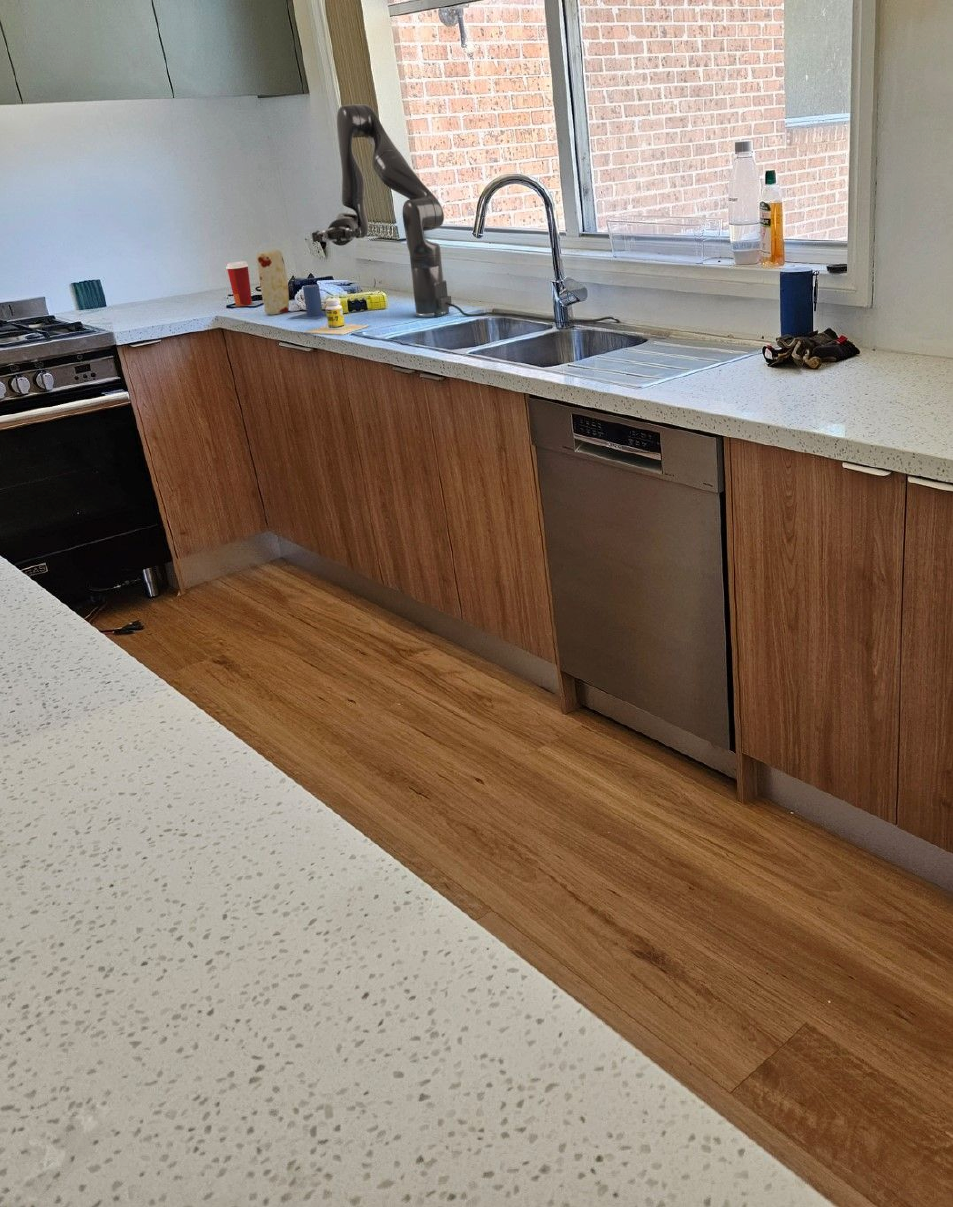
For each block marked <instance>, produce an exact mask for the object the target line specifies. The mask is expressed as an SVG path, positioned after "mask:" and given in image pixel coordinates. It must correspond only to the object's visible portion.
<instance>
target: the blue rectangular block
mask: <svg viewBox="0 0 953 1207" xmlns="http://www.w3.org/2000/svg"><path fill="white" fill-rule="evenodd" d="M302 291H303V299H304V305H305V311H306V313H307V316H308V317H315V316H321V315H323V311H324V310H323V305H322V299H321V291H320V285H319V284H307V285H303V286H302Z"/></svg>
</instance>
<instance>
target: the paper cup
mask: <svg viewBox="0 0 953 1207" xmlns="http://www.w3.org/2000/svg"><path fill="white" fill-rule="evenodd" d="M225 269H226V271H227V273H228V275H227V276H228V278H229V283H230V287H231V291H232V295H233V296H232V297H233V300H234V303H235V306H236V307H244V306H245V307H246V306H250V305H252V304H253V299H252V290H251V282H250V273H249V272H250V271H249V264H248V262H247V261H244V260H241V261H233V262H228V263H227V264H226V267H225Z"/></svg>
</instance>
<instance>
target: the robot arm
mask: <svg viewBox="0 0 953 1207" xmlns="http://www.w3.org/2000/svg"><path fill="white" fill-rule="evenodd" d="M336 131H337V140H338V150H339V157H340V166H341V204H342V205H343V206H344V207H346V208H348V209H351V210H352V211H354V212H355V213H348V212H341V213H338V215H337V216H336V218H335V219H334V220H333V221H332V222H331V223H330V224H329V225H328V228H327V229H326V228H325V229H322V231H320V230H316V231H314V232H312V233H311V237H312V238H311V239H312V242H313V243H316V242H317V243H322V242H324V243H330V242H331V243H333V244H334V245H337V246H338V247H339V246H340V247H343V246H346V245H347V244H349V243H350V242H352V241H353V240H354V239H363V238H365V237H366V236H367V235H368V233H369V227H370V226H369V220H368V217H367V213H366V207H365V178H364V173H363V171H362V169H361V167H360V165H359V163H358V160H357V158H356V157H355V153H354V151H353V139H357V138H365V139H367V140H368V142H370V144H371V145H372V152H371V164H372V168H373V170H374V172H375V173H376V175H377V177H378V178H379V179H380V180H381V183H383V184H384V185H385V186H386V187H387V188H389V189H390V190H392V191H395V193H398V194H399V195H401V196H404V197H405V198H406V199H407V200H405V202H404V203H403V205H402V211H401V212H402V213H401V214H402V224H403V229H404V233H405V242H406V246H407V250H408V252H409V254H408V255H409V262H410V270H411V271H410V273H411V280H412V288H413V289H412V290H413V298H414V299H413V301H414V306H415V307H414V309H415V317H417V318H433V317H434V318H438V317H442V316H445V315H447V314H450V307H453V308H454V309H456V310H458V311H459V312H460V314H461V315H462V316H465V317H481V316H488V315H492V316H494V315H495V316H496V315H497V316H508V317H509V316H510V317H520V318H524V319H525V318H526V319H533V320H540V321H541V320H542V321H549V322H550V321H551V322H557V321H556V319H557V318H556V319H555V318H554V317H545V316H536V315H529V314H521V313H513V312H499V311H487V312H480V313H467V312H465V311H464V310H462V309H461V307H459V306H458V305H457V304H454V303H452V296H451V295H448V286H447V285H448V284H447V280H444V272H443V263H442V262H443V261H442V254H441V253H442V251H441V245H440V244H439V243H436V242H432V241H429V240H428V239H427V238H426V237H425V234H424V232H427V231H433V230H437V229H439V228H441V226H442V225H443V224H444V221H445V213H444V210H443V206H442V204H441V203H440V201H439V199H437V197H436V196H435V195H434V194H433V192H432V191H431V190H430V189H429V188H428V187H427V186H426V185H425V184H424V182H422V181H421V179H420V178H419V177H418V176H417V174H416V173H415V171H414V170H413V169H412V167H411V166H410V165H409V163H408V162H407V160H406V159H405V157H404V155H403V154H402V153H401V151H399V149H398V147H397V146H396V145H395V144H394V142H393V140H392V139H391V138H390V136H389V135H388V134H387V131H386V130H385V128H384V126H383V124H382V123H381V121H380V119H379V117H378V116H377V114H376V112H375V111H374V109H373V108H372V106H370V105H368V104H365V103H357V104H355V103H353V104H343V105H341V106H340V107H339V108H338V110H337V113H336ZM613 317H614V316H604V317H599V318H593V319H591V318H589V319H587V318H585V319H584V318H583V319H581V318H580V319H579V318H576V319H575V318H570V319H571V320H569V321H570V322H569V323H597V322H602V321H604V320H605V321H606V320H612V321H615V322H616V323H618V324H622V322H621V320H620V319H619V318H617V319H614V318H613Z"/></svg>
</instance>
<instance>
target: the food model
mask: <svg viewBox="0 0 953 1207" xmlns="http://www.w3.org/2000/svg"><path fill="white" fill-rule="evenodd" d="M256 263H257V264H256V265H257V273H258V282H259V287H260V292H261V297H262V298H261V299H262V302H263V306H264V312H265V314H266V315H267V316H268V315H271V316H272V315H273V316H274V315H280V314H285V313H288V312H289V309H290V300H289V299H290V296H289V295H290V294H289V293H290V292H289V281H288V276H287V270H286V266H285V262H284V257H283V253H282V251H281V250H279V249H270V250H267V251H261V252H260V253H258V254H257V255H256Z"/></svg>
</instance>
